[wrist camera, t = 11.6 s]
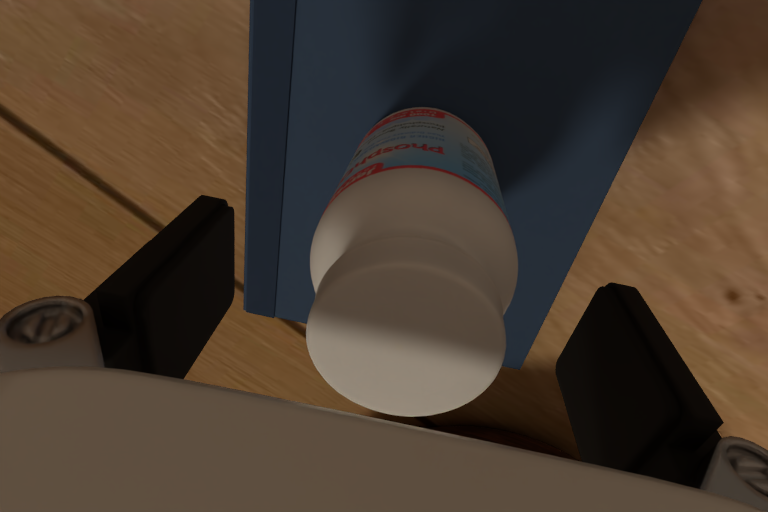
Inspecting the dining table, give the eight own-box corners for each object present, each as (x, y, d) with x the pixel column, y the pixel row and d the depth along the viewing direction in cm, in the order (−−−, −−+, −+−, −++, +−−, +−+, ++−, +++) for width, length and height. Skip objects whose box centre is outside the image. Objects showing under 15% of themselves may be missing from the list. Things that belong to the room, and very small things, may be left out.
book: (257, -158, 15) (252, -162, 14) (723, -55, 15) (732, -56, 14) (245, 305, 25) (242, 311, 25) (518, 365, 25) (520, 371, 25)
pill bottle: (426, 71, 17) (411, 166, 8) (520, 180, 19) (601, 366, 10) (326, 170, 20) (221, 334, 10) (417, 257, 22) (399, 466, 12)
